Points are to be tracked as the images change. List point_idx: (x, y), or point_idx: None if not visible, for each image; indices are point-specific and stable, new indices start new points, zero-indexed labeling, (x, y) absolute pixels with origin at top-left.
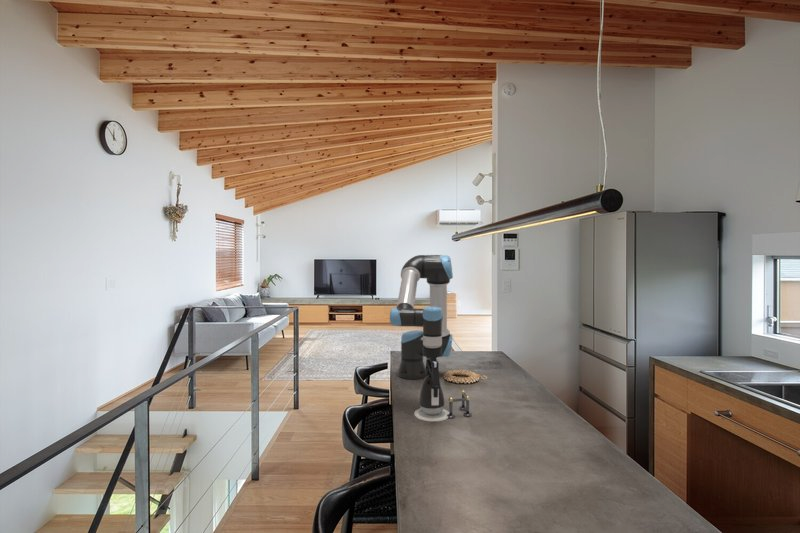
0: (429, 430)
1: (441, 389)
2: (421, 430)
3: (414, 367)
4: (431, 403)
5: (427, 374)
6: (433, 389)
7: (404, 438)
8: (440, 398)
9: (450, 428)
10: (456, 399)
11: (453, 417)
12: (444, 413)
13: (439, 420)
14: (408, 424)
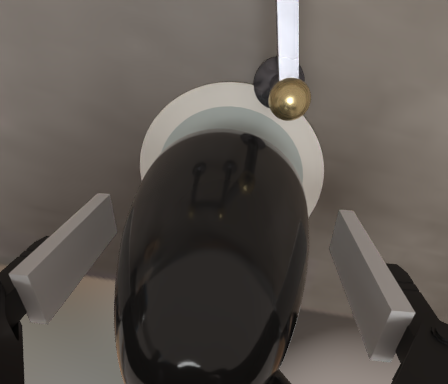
0: (411, 227)
1: (258, 212)
2: (396, 255)
3: None
4: (332, 255)
5: (21, 355)
6: (392, 342)
7: (441, 317)
8: (297, 197)
9: (435, 127)
10: (298, 42)
11: (302, 72)
12: (244, 116)
13: (322, 162)
14: (318, 284)
